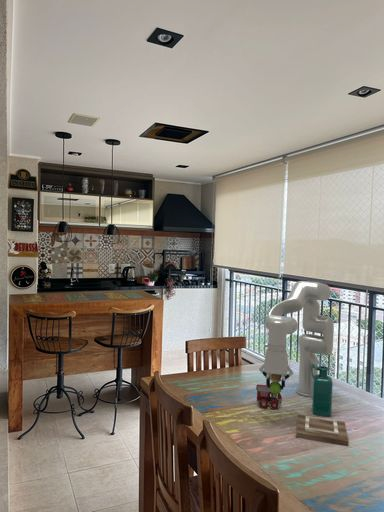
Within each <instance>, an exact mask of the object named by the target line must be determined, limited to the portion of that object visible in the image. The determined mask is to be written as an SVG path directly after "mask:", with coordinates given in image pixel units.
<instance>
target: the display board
mask: <svg viewBox="0 0 384 512" xmlns="http://www.w3.org/2000/svg"><path fill="white" fill-rule="evenodd" d="M346 426H347V425H346V422H345V421H343V420H342V421H341V420H337V419H330V418H323V417H317V416H311V415H305V414H297V419H296V428H295V429H296V431H295V437H296V438H299V439H304V440H311V441H317V442H322V443H329V444H334V445H338V446H339V445H340V446H345V447H349V438H348V432H347V427H346Z"/></svg>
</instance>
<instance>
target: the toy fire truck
mask: <svg viewBox="0 0 384 512" xmlns="http://www.w3.org/2000/svg"><path fill="white" fill-rule="evenodd" d="M255 387H256V402H257V403H258V404H259V407H260V408H261V409H267V407H270V408H271V409H272V410H277V409H278V408H279V406H280V405H282V402H283V397H282V395H281V392H280V393H279V394H273V393H272V392H271V391H270V389H269V388H268V385H266V384H260V383H259V384H256V386H255Z"/></svg>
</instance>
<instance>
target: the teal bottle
mask: <svg viewBox="0 0 384 512" xmlns="http://www.w3.org/2000/svg"><path fill="white" fill-rule="evenodd" d="M313 368H315V369H316V370H318V375H314V373H313ZM329 370H330V367H328V366H325V365H318V367H317V366H316V365H315V364H312V365H311V372H312V377H313V378H314V381H313V397H312V409H311V413H312V415H315V416H320V417H328V418H329V417H331V416H332V407H333V405H332V404H333V378H332V376H329V375H328V371H329Z"/></svg>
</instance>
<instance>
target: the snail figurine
mask: <svg viewBox="0 0 384 512" xmlns="http://www.w3.org/2000/svg"><path fill="white" fill-rule="evenodd" d="M269 378H270V386H269V389H270V391H271V392H272V393H273V394H277V395H278V394H279V393H280V394H281V392H282V391H283V390H282V389H281V382H282V375H278V374H270V373H269Z"/></svg>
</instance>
